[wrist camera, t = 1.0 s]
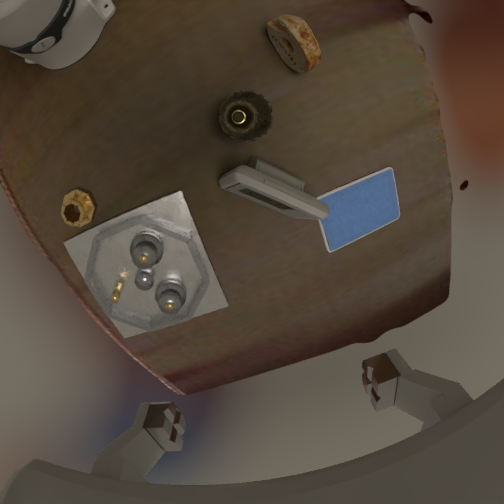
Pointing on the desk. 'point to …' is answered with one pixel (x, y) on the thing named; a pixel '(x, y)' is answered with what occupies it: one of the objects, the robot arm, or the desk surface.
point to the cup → (246, 116)
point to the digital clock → (273, 190)
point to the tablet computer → (359, 208)
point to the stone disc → (294, 42)
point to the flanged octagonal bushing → (84, 204)
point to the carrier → (148, 266)
